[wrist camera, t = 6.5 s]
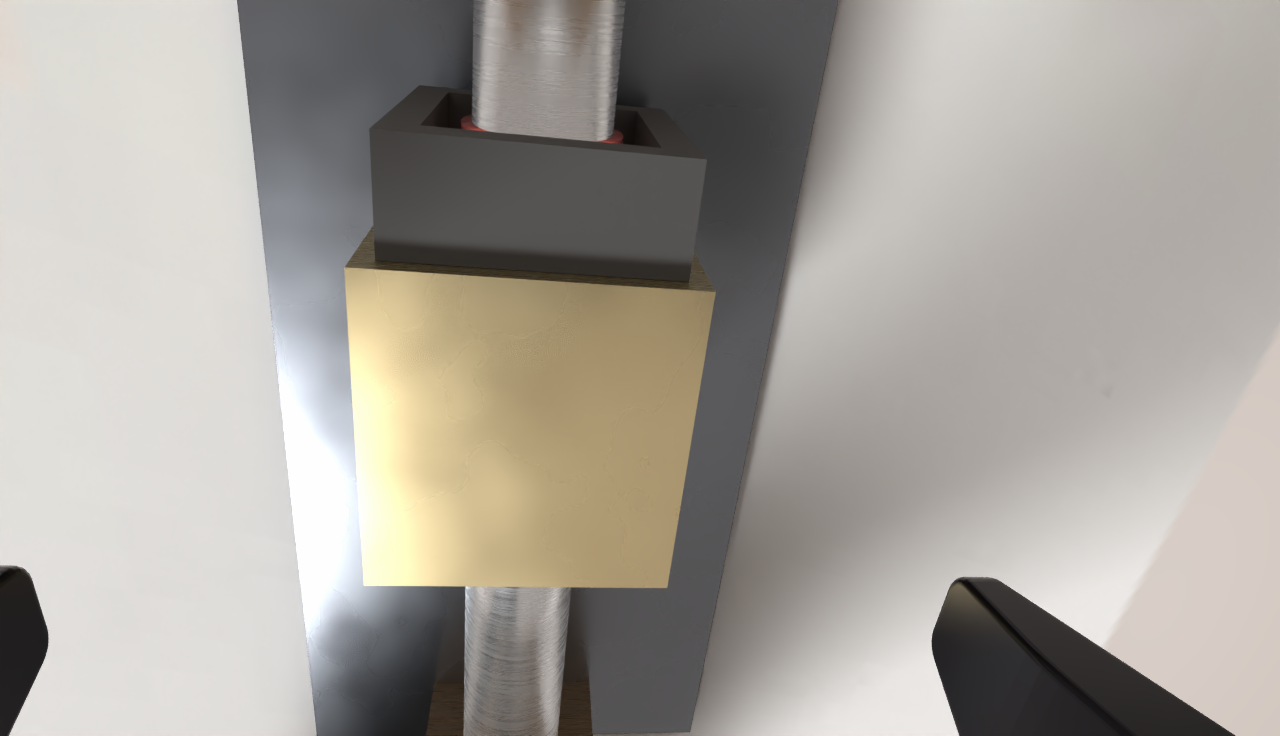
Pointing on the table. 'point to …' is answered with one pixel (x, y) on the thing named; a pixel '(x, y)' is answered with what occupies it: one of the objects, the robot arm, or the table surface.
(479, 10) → the pipe rig
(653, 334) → the sleeve
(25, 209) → the table surface
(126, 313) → the table surface
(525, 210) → the dark grey square collar
